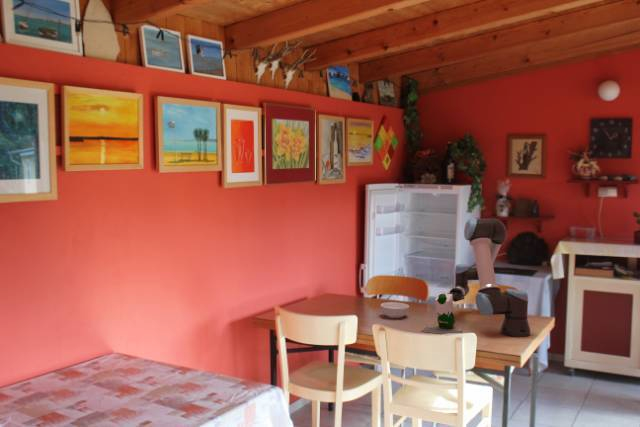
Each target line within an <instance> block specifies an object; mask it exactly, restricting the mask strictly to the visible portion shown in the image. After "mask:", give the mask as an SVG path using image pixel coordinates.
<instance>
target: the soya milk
mask: <svg viewBox="0 0 640 427" xmlns="http://www.w3.org/2000/svg"><path fill="white" fill-rule="evenodd" d="M434 303H435V309H436V316H437V324H438V328H441V329H449V330H452V328H453V326H454V324H456V319H455V308H454V301H453V294H447V293H446V292H439V293H438V294H437V296H436V297H435V299H434Z"/></svg>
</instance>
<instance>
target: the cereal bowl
mask: <svg viewBox="0 0 640 427" xmlns="http://www.w3.org/2000/svg"><path fill="white" fill-rule="evenodd" d="M380 311H381V313H382V314H383V315H385V316H387V318H389V319H401V318H402V317H406V316H407V314H408V313H409V311H410V305H409V304H407V303H402V302H394V301H393V302H392V301H391V302H390V301H388V302H383V303H381V304H380Z"/></svg>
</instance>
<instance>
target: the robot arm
mask: <svg viewBox="0 0 640 427" xmlns="http://www.w3.org/2000/svg"><path fill="white" fill-rule="evenodd" d="M463 235H464V239H465V240H466V241H468V242H469V245H470V246H472V247H473V254H474V259H475V264H476V265H475V266H476V267H469V265H468V264H465V263H463V264H461V263H459V264H456V265H455V268H454V269H455V272H454V274H455V275H454V282H455V283H454V287H453V288H451V289H450V290H449V292H447V293H446V294H453V303H457V302H459V301H463V300H465V296H467V295H468V294H469V292H470V287H469V281H478V282H479V289H478V290H477V292H478V293H476V295H475V305H476V309H477V311H478V312H479V313H480V314H481V315H484V316H495V315H497V316H498V315H499V316H500V315H504V319H503V321H502V324H501V328H500V333H501V334H502V335H505V336H509V337H516V338H517V337H519V338H522V337H529V336H530V335H531V328H530V324H529V320H528V312H529V311H528V310H529V309H528V307H529V298H528V297H529V295H528V293H527V292H526V291H523V290H519V289H514V288H505V290H504V292H502V291H501V287H500V286H499V285H497V280H496V274H495V269H494V263H495V260H496V259H497V256H498V253H499V251H500V248H501V247H502V245H503V244H505V243H506V240H507V237H508V232H507V227H506V226H505V224H504V223H503V222H502V221H501V220H499V219H497V218H471V219H468V220H467V221H466V223H465V225H464V230H463Z"/></svg>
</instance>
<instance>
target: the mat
mask: <svg viewBox="0 0 640 427" xmlns="http://www.w3.org/2000/svg"><path fill="white" fill-rule="evenodd" d="M420 332H421V333H427V332H428V333H427V334H435V335H442V334H447V333H461V334H463V330H456V329H446V328H439V327H432V326H425V327H424V328H423V329H421V330H420Z"/></svg>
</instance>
